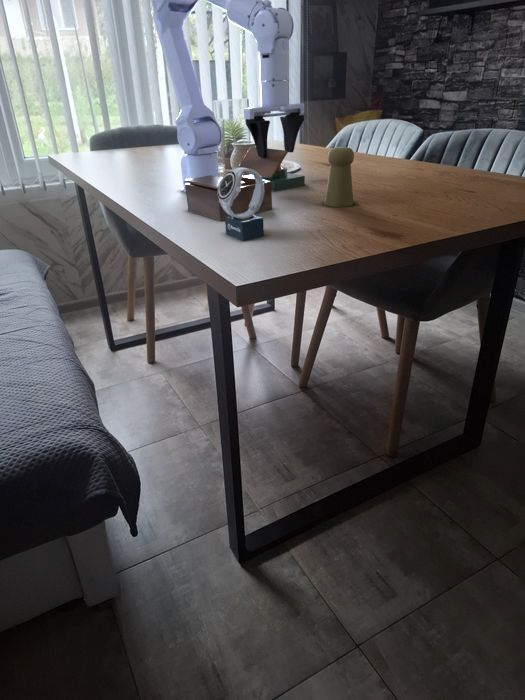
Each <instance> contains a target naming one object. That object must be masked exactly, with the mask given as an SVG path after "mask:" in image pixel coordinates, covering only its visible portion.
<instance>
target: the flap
mask: <svg viewBox="0 0 525 700" xmlns="http://www.w3.org/2000/svg"><path fill="white" fill-rule="evenodd" d="M288 153H289V152H288V151H286V150H285V149H277V148H268V147H267V157H261V156H258V153H257V149H256V146H250V147H249V149H248V150H247V152H246V154H245V155H244V156H243V159H242V160H241V162H240V163H239V164H238V167H237V168H239V167H242V168H248V169H252V170H255V171H256V172H258V173H259V174H260V176H261V177H267V178H272V177H273V176H274V174H275V172H276V171H277V169H278V168H279V166H280V164H282V163H283V161H284V159H285V158H286V156H287V155H288ZM243 173H244V174H246V175H252V174H251V173H249V172H248V171H245V172H243Z"/></svg>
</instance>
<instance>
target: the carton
mask: <svg viewBox="0 0 525 700" xmlns="http://www.w3.org/2000/svg"><path fill="white" fill-rule="evenodd" d="M245 176H246V175H243V176H242V179H241V191H240V192H239V194H238V195H237V196H236V198H235V199H234V200H233V203H232V206H231V207H230V208H231V210H232V212H233V213H234V214H238V213H243V212H246V211H248V209H249V204H250V202H251V200H252V197H253V193H254V189H255V185H256V181H255V179H254V178H250V177H245ZM222 177H223V176H222ZM222 177H221V176H219V177H217V176H212V175H210V176H204V177H198V178H192V179H186V180H185V182H188V183H187V184H185V189H186V192H185V197H186V205H187V212H190V213H192V214H196V215H199V216H201V217H205V218H210V219H212V220H215V221H218V222H223V221H225V216H229V214H227V213H226V212H225V211H224V210H223V208H222V206H221V203H220V201H219V198H218V194H217V191H218V185H219V183H220V180H221V179H222ZM263 182H264V190H265V192H264V197H263V201H262V203H261V206H260V208H259V210H258V212H256V213H255V214H257V213H259V212H260V213H261V212H264V211H268V210H272V209H273V195H272V193H273V191H272V190H271V181H266V180H263Z"/></svg>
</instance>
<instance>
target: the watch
mask: <svg viewBox="0 0 525 700" xmlns="http://www.w3.org/2000/svg"><path fill="white" fill-rule="evenodd" d="M238 167H239V166H238ZM238 167H234V168H232V169H230V170H228V171H227V172H225V173H224V174H223V176H222V179H221V180H220V183H219V185H218V191H217V194H218V198H219V201H220V203H221V206H222V208H223V210H224V211H225V212H226V213H227V214H229V216H225V220H224V223H225V224H224V227H225V235H227V236H229V237H232V238H234V239H236V240H239V241H241V242H245V241H249V240H253V239H258V238H261V237H264V236H265V227H264V226H265V225H264V217H263V216H259V215H256V214H257V213H259V212H258V210H259V208H260V206H261V203H262V201H263V197H264V192H265V190H264V182H263V179H262V177H261V176H260V174H259V173H258V172H256V171H255V170H252V169H248V168H242V167H239V168H238ZM245 171H248V172H249V173H251V174H252V176H254V179H255V181H256V185H255V189H254V193H253V197H252V200H251V202H250V204H249V209H248V211H246V212H243V213H238V214H234V213H233V212H232V210H231V208H230V207H231V206H232V203H233V200H234V199H235V198H236V196H237V195H238V194H239V192H240V191H241V179H242V176H244V174H245V173H243V172H245ZM256 212H257V213H256Z"/></svg>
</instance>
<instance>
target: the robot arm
mask: <svg viewBox="0 0 525 700" xmlns="http://www.w3.org/2000/svg"><path fill="white" fill-rule="evenodd" d="M204 1H205V2H208V3H210V4H211V5H213V6H215V7H217V8H219V9H222V10H224V11H225V13H226V14H225V15H226V17H227V20H228V21H229V22H230V23H232V24H233V25H235V26H237V27H239V28H241V29H242V30H244V31H246V32H247V33H250V34H251V35H252V37H253V38H254V40H255V42H256V45H257V47H256V48H257V52H258V63H259V64H258V65H259V89H260V90H259V92H260V93H259V94H260V106H251V107H244V108H243V119H244V120H245V126H246V127H247V130H249V132H250V134H251V137H252V140H253V142H254V145H255V147H256V149H257V153H258V156H261V157H267V148H268V136H269V129H270V124H271V121H270V120H267V119H266V118H272V117H279V119H280V123H281V127H282V132H283V148H284V150H286V151H288V153H294V150H295V148H296V147H295V146H296V143H297V138H298V135H299V132H300V130H301V127H302V125H303V123H304V121H305V115H304V114H305V103H290V85H289V84H290V81H289V80H290V78H289V77H290V76H289V73H290V71H289V41H290V39H292V36H293V33H294V26H295V24H294V19H293V16H292V14H291V13H290V12H289V11H288V10H287V9H286V8H285V7H278V8H276V7H273V6H272V1H271V0H204ZM150 2H151V5H152V10H153V21H154V27H155V31H156V33H157V37H158V40H159V43H160V46H161V50H162V53H163V56H164V59H165V63H166V66H167V69H168V74H169V77H170V79H171V82H172V86H173V88H174V92H175V95H176V100H177V102H178V105H179V109H180V112H179V114H178V116H177V117H176V119H175V126H176V129H177V132H176V134H177V135H176V136H177V142H178V145H179V147H180V148H181V150H182V151H183V155H182V157H181V159H180V172H181V179H182V188H180V189H179V191H180V192H185V193H186V189H185V184H187V183H188V182H185V180H186V179H192V178H198V177H204V176H210V175H212V176H217V177H220V171H219V157H218V152H219V151H220V150H219V147H220V146H221V145H222V141H223V136H224V135H223V130H222V126H221V124H219V122H218V121H217V118H216V117H215V114H214V111H212V110H211V108H209V107H208V106H207V105H206V104H205V102H204V99H203V95H202V92H201V88H200V85H199V82H198V81H199V80H198V77H197V75H196V70H195V68H194V65H193V61H192V57H191V54H190V51H189V47H188V43H187V40H186V37H185V36H186V35H185V33H184V29H183V25H184V24H185V21H187V19H188V18H189V17H190V15H191V13H192V12H193V10H194V9H195V8H196V6H197V4H198V3H199V0H150ZM271 112H274V113H271ZM275 112H276V113H275Z"/></svg>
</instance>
